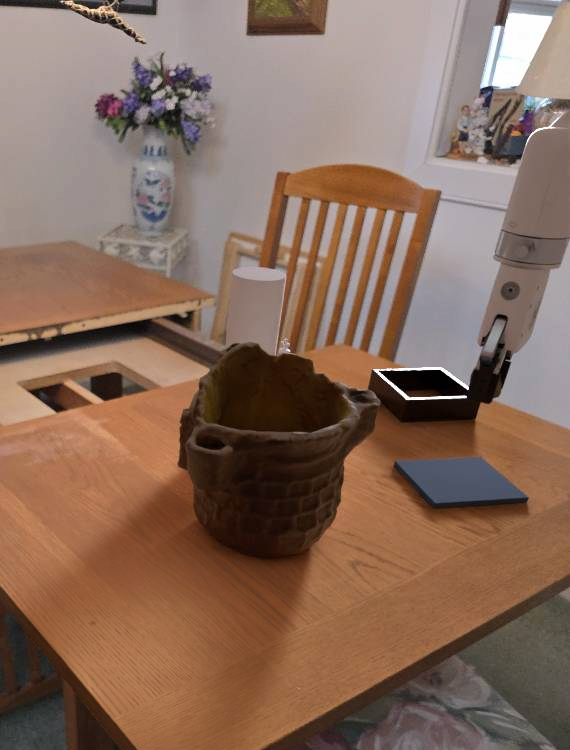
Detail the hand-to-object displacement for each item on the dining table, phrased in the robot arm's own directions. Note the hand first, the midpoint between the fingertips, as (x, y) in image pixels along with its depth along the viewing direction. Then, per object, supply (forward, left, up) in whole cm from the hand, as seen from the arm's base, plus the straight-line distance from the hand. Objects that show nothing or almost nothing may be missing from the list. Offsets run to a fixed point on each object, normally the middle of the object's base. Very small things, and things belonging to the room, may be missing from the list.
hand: (484, 392), depth 93 cm
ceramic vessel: (+33, +10, -13) cm, 37 cm away
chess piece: (+16, -32, -13) cm, 38 cm away
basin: (-8, -26, -13) cm, 30 cm away
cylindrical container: (+28, -14, -13) cm, 34 cm away
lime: (0, 0, -1) cm, 1 cm away
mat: (0, +1, -13) cm, 13 cm away
